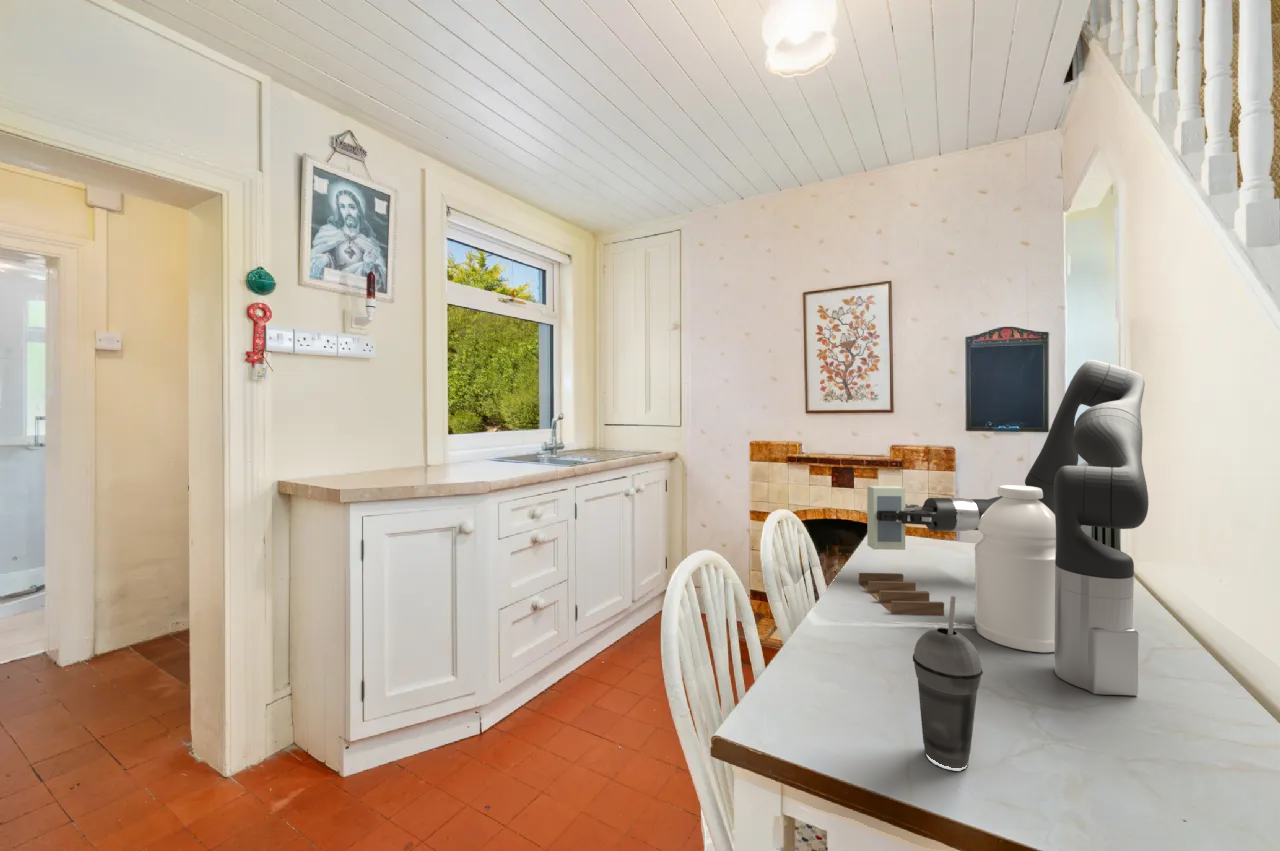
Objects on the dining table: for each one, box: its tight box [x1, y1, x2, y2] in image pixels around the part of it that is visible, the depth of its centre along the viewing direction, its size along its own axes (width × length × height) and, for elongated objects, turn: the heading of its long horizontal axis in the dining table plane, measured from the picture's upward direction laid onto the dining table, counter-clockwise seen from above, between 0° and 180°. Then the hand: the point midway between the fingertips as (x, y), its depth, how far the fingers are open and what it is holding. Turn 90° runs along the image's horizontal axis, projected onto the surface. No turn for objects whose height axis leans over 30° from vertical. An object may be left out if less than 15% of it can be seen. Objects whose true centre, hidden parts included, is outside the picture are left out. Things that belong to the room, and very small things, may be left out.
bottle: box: [973, 484, 1056, 653], centre depth 98 cm, size 14×14×28 cm
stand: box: [858, 572, 945, 617], centre depth 116 cm, size 20×10×4 cm, turn 176°
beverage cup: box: [912, 595, 984, 768], centre depth 63 cm, size 7×7×20 cm
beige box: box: [866, 485, 906, 551], centre depth 122 cm, size 4×7×14 cm, turn 86°
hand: (873, 513), depth 122 cm, fingers closed on beige box, 4 cm apart
